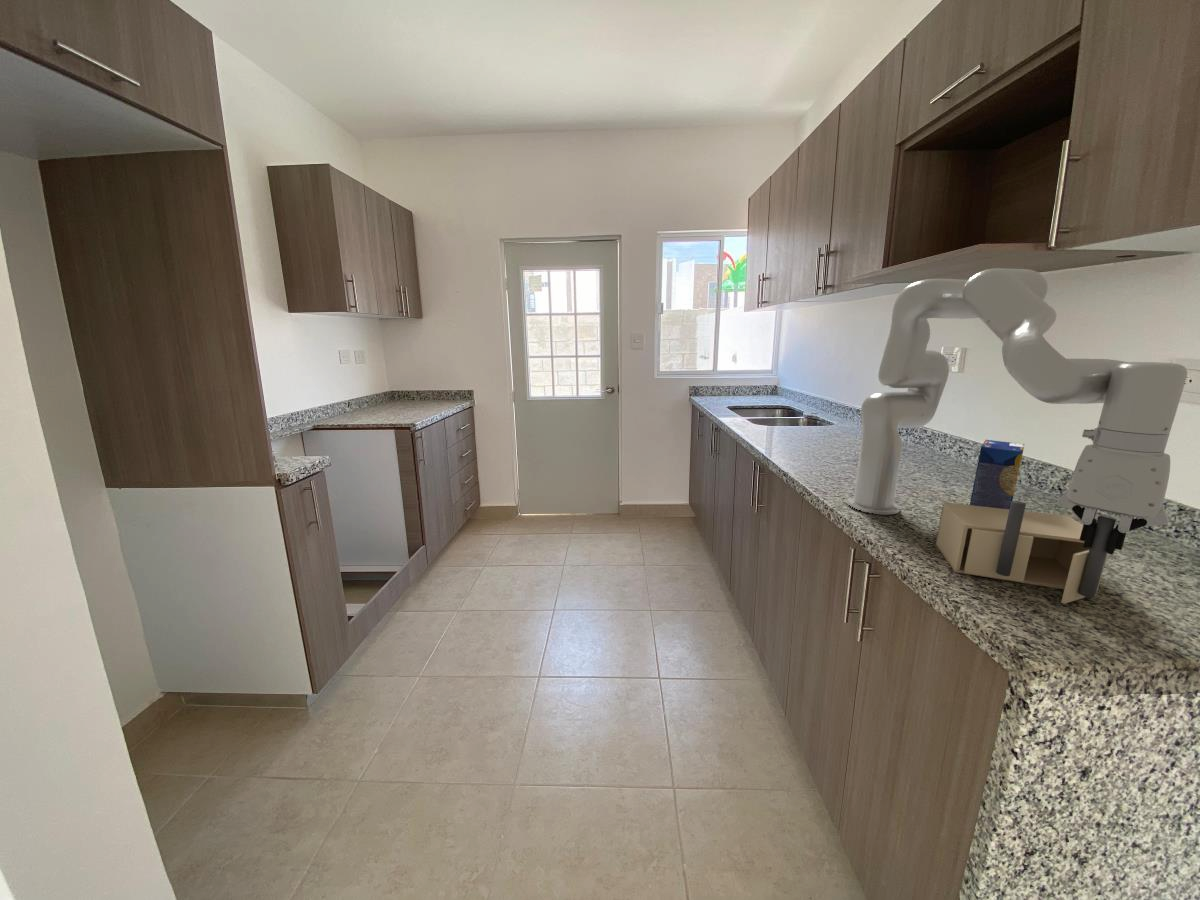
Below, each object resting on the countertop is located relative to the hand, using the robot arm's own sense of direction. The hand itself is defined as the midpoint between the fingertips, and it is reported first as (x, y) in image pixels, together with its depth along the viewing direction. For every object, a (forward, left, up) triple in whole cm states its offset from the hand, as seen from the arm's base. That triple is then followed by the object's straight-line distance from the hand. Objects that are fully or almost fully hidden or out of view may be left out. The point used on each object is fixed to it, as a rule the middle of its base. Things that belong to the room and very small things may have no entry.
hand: (1099, 548), depth 77 cm
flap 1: (-4, -11, -10) cm, 16 cm away
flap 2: (-1, 0, -10) cm, 10 cm away
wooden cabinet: (-13, -6, -11) cm, 18 cm away
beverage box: (-29, -5, -11) cm, 31 cm away
